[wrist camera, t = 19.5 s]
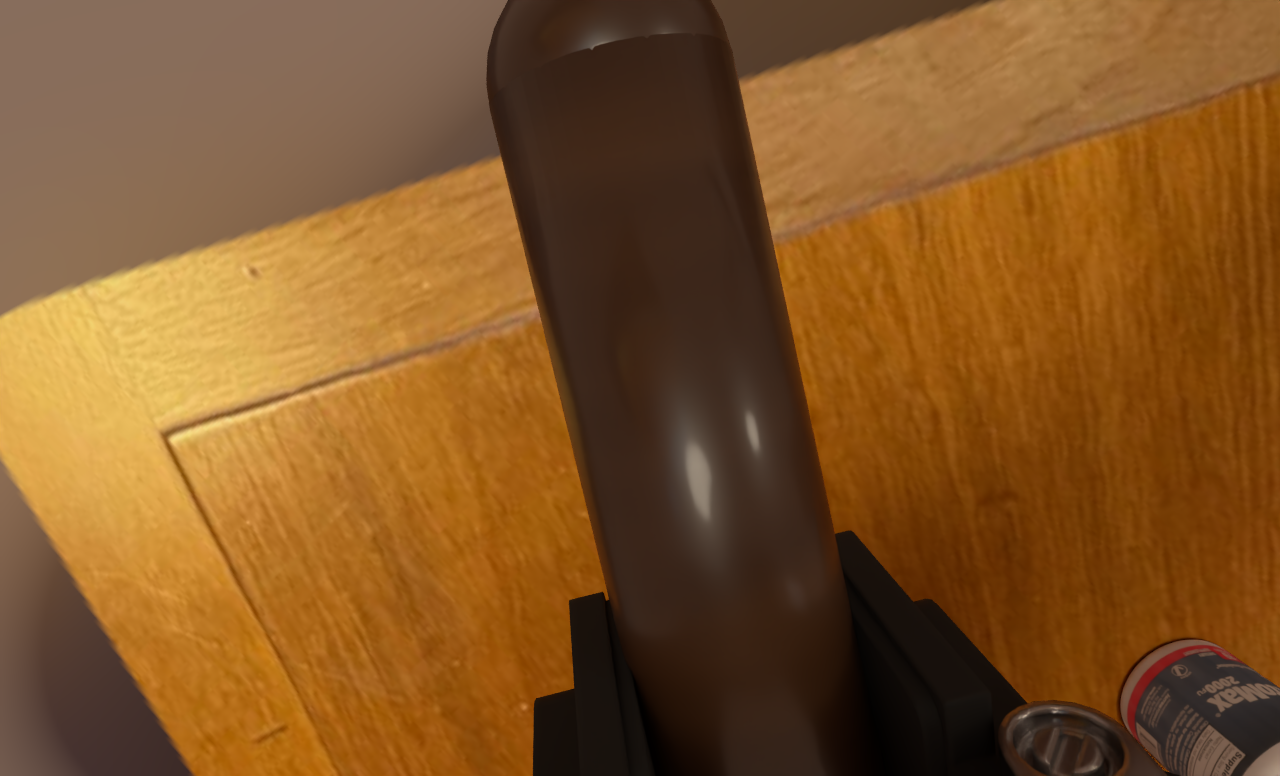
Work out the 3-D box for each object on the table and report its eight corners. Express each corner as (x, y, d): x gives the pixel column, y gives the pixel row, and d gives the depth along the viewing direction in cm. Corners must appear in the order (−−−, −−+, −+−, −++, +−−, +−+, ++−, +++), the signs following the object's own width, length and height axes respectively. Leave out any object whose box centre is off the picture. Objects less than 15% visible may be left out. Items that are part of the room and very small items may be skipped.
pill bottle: (1246, 636, 33) (1493, 799, 24) (1209, 740, 34) (1432, 929, 25) (1133, 634, 32) (1348, 802, 23) (1101, 740, 33) (1293, 935, 25)
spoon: (395, 48, 11) (327, -62, 8) (759, -25, 11) (830, -158, 8) (697, 1240, 12) (739, 1529, 9) (1001, 1141, 13) (1133, 1389, 10)
